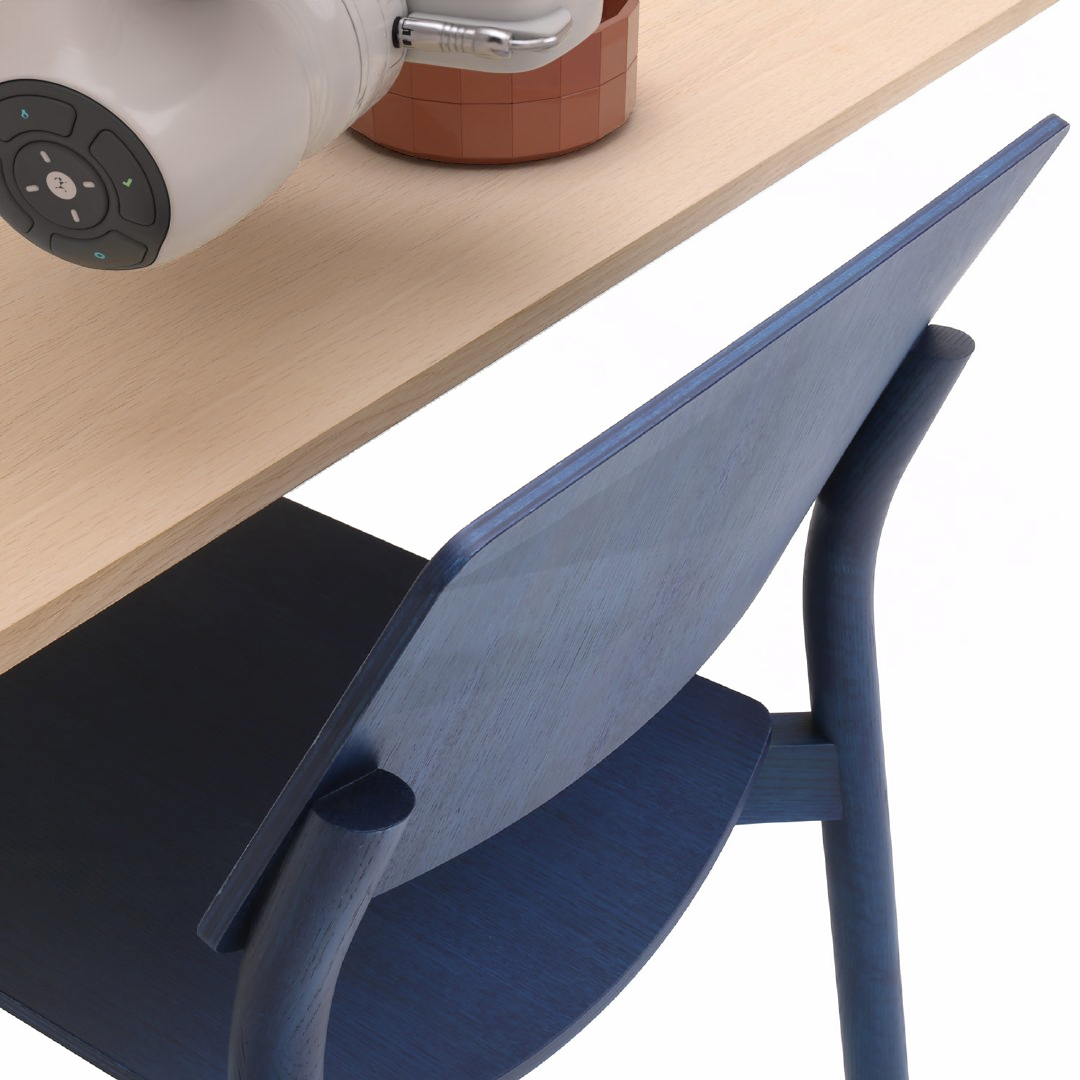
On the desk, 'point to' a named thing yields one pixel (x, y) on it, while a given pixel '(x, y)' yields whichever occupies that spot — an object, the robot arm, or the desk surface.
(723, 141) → the desk surface
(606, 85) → the bowl
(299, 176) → the desk surface
